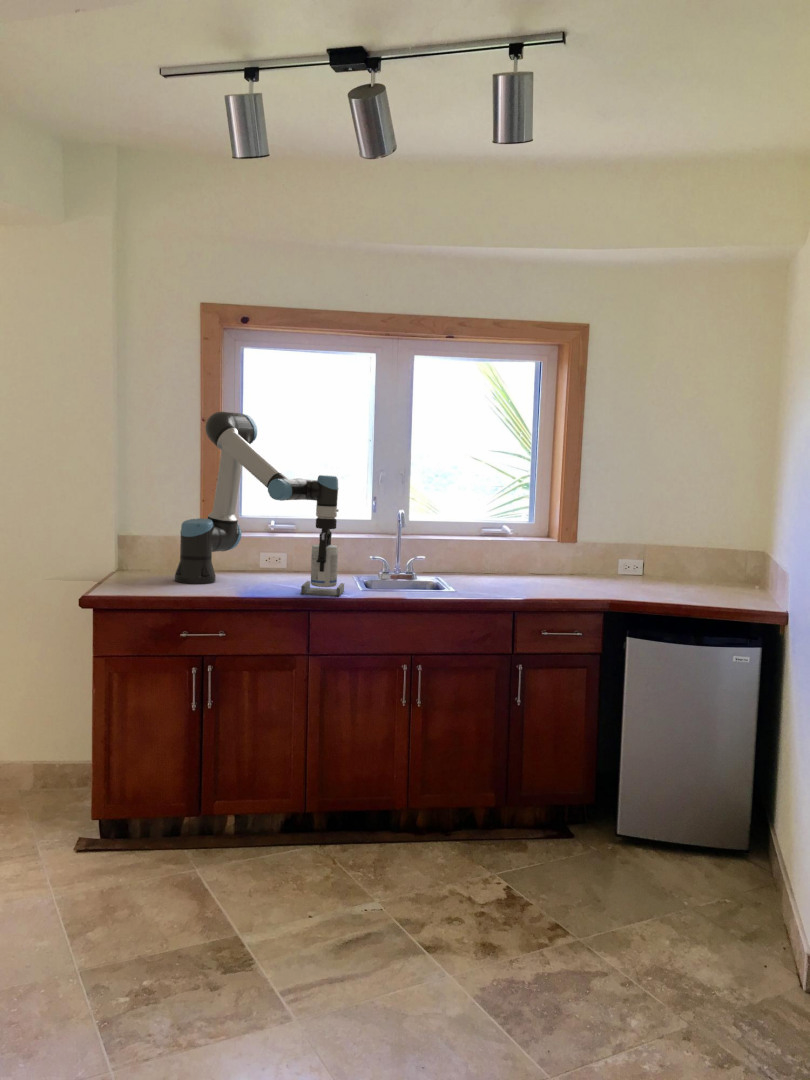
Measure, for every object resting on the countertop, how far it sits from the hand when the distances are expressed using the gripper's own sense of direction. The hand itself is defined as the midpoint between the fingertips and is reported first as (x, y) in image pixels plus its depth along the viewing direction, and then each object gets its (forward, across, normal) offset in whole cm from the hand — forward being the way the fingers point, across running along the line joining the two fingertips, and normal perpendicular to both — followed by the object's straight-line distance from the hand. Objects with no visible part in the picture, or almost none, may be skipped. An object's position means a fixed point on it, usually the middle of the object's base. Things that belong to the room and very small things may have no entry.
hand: (323, 578), depth 330 cm
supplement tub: (+3, 0, 0) cm, 3 cm away
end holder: (+5, 0, 0) cm, 5 cm away
